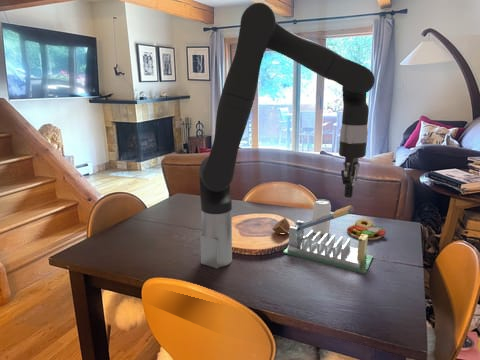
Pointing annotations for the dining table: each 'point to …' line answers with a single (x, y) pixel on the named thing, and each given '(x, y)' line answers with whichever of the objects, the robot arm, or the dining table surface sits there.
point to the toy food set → (366, 230)
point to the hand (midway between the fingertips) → (348, 196)
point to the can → (321, 210)
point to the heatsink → (329, 250)
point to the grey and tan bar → (326, 217)
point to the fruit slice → (282, 226)
